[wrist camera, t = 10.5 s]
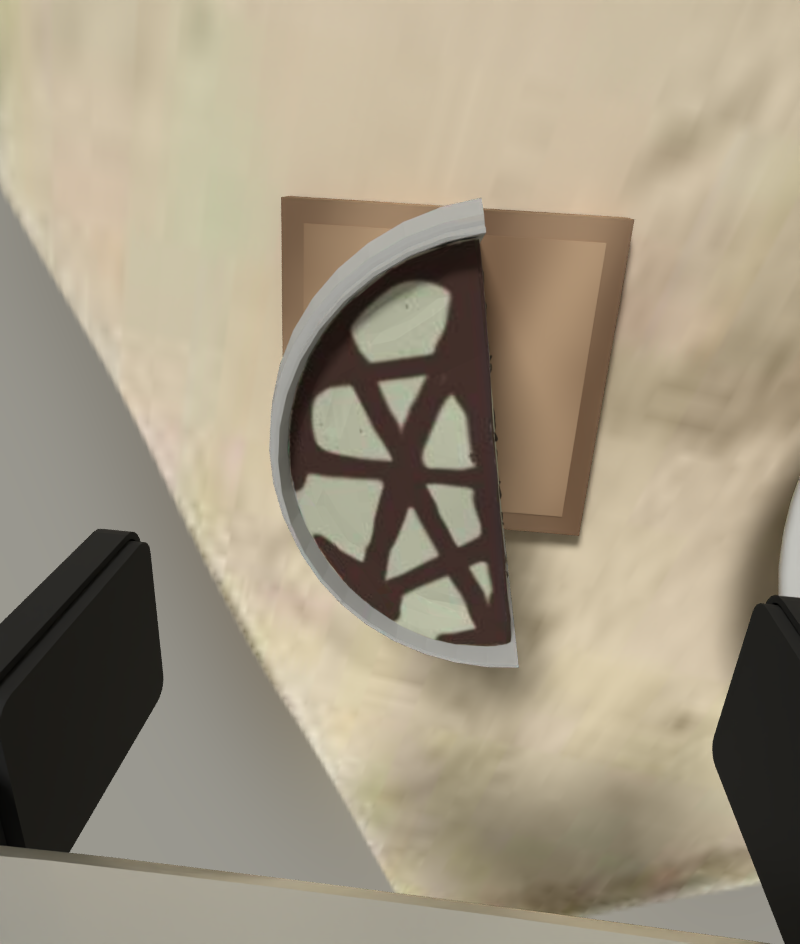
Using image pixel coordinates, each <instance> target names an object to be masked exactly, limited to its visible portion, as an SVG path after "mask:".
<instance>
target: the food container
mask: <svg viewBox="0 0 800 944" xmlns="http://www.w3.org/2000/svg"><path fill="white" fill-rule="evenodd" d="M485 233H486V227H485V221H484V211H483V205H482V199H481V198H478V199H473V200H469V201H465V202H460V203H456V204H451V205H447V206H443V207H440V208H437V209H435V210H432V211H430V212H427V213H425V214H422V215H420V216H417V217H415V218H412V219H410V220H407V221H405V222H402V223H401V224H399V225H397V226H396V227H394V228H392V229H391V230H389V231H387V232H386V233H384V234H382V235H381V236H379V237H377V238H376V239H374V240H372V241H371V242H369V243H368V244H366V245H365V246H364V247H363V248H362V249H360V250H359V251H358V252H357V253H356V254H355V255H353V256H352V257H351V258H350V259H349V260H347V261H346V262H345V263H344V264H343V265H342V266H340V267H339V268H338V269H337V270H336V271H335V272H334V274H333V275H332V276H331V277H330V278H329V280H328V281H327V282H326V283H325V284H324V285H323V287H322V288H321V289H320V290H319V291H318V292H317V294H316V295H315V296H314V297H313V298H312V300H311V302H310V303H309V305H308V307H307V308H306V310H305V312H304V313H303V315H302V317H301V318H300V320H299V322H298V323H297V325H296V327H295V328H294V330H293V332H292V335H291V338H290V340H289V343H288V345H287V348H286V350H285V353H284V355H283V358H282V360H281V363H280V367H279V372H278V376H277V381H276V386H275V391H274V395H273V402H272V411H271V426H270V449H269V451H270V459H271V467H272V476H273V484H274V487H275V491H276V494H277V498H278V501H279V504H280V508H281V511H282V515H283V517H284V519H285V521H286V524H287V526H288V528H289V530H290V532H291V534H292V536H293V538H294V540H295V543H296V545H297V546H298V548H299V550H300V552H301V554H302V556H303V557H304V559H305V560H306V562H307V563H308V565H309V566H310V567H311V569H312V570H313V572H314V573H315V575H316V576H317V578H318V579H319V581H320V582H321V583H322V584H323V585H324V586H325V587H326V588H327V589H328V590H329V592H330V593H331V594H332V595H333V596H334V597H335V598H336V599H337V600H338V601H339V602H340V603H341V604H342V605H343V606H344V607H345V608H347V609H348V610H349V611H350V612H352V613H353V614H354V615H355V616H356V617H358V618H359V619H360V620H361V621H363V622H364V623H365V624H366V625H368V626H370V627H371V628H373V629H375V630H376V631H378V632H380V633H382V634H383V635H385V636H387V637H388V638H390V639H392V640H393V641H395V642H398V643H400V644H402V645H405V646H407V647H409V648H412V649H414V650H416V651H419V652H421V653H423V654H427V655H430V656H434V657H438V658H441V659H445V660H448V661H452V662H456V663H463V664H470V665H477V666H484V667H510V668H519V665H518V656H517V647H516V637H515V628H514V619H513V610H512V601H511V592H510V582H509V573H508V564H507V555H506V546H505V537H504V528H503V525H504V523H503V512H502V509H501V500H500V499H501V496H502V494H501V489H500V486H499V485H500V483H501V481H499V480H500V479H499V476H498V465H497V462H498V459H497V456H498V451H497V449H496V441H498V437H497V435H496V433H495V429H496V423H495V411H494V408H493V399H492V387H491V375H490V373H491V371H492V364H491V363H490V360H491V358H492V355H489V353H490V348H489V341H488V332H487V320H486V317H487V312H486V309H487V304H486V302H485V293H484V272H483V268H482V259H481V251H480V242H481V240H482V239H483V237H484V235H485Z"/></svg>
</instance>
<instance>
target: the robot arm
mask: <svg viewBox="0 0 800 944" xmlns="http://www.w3.org/2000/svg"><path fill="white" fill-rule="evenodd" d="M152 573H153V572H152V563H151V553H150V548H149V546H148V544H147V543H145V542H140V539H139V537H138V535H137V534H136V533H135V532H128V531H118V530H108V529H97V530H96V531H94V532H93V533H92V534H91V535H90V536H89V537H88V538H87V539H86V540H85V541H84V542H83V543H82V544H81V545H80V546H79V547H78V548H77V549H76V550H75V551H74V552H73V553H72V554H71V555H70V556H69V557H68V558H67V559H66V560H65V561H64V562H63V563H62V564H61V565H59V566H58V568H56V570H54V572H52V573H51V574H50V575H49V576H48V577H47V578H46V579H45V580H44V581H43V582H42V583H41V584H40V585H39V586H38V587H37V588H36V589H35V590H34V591H33V592H32V593H31V594H30V595H29V596H28V597H27V598H26V599H25V600H24V601H23V602H22V603H21V604H20V605H19V606H18V607H17V608H16V609H15V610H14V611H13V612H12V613H11V614H10V615H9V616H8V617H7V618H6V619H5V620H4V621H3V622H2V623H1V624H0V944H769V943H763V942H756V941H750V940H743V939H735V938H728V937H721V936H713V935H706V934H698V933H691V932H684V931H676V930H669V929H662V928H654V927H647V926H640V925H633V924H625V923H618V922H610V921H603V920H596V919H589V918H581V917H574V916H566V915H559V914H552V913H544V912H537V911H529V910H522V909H514V908H506V907H499V906H491V905H484V904H476V903H468V902H461V901H453V900H445V899H438V898H430V897H423V896H415V895H407V894H399V893H392V892H384V891H376V890H368V889H361V888H352V887H345V886H337V885H329V884H322V883H314V882H307V881H299V880H291V879H283V878H274V877H266V876H258V875H250V874H242V873H234V872H225V871H218V870H210V869H201V868H194V867H186V866H178V865H170V864H162V863H153V862H146V861H137V860H129V859H121V858H113V857H104V856H94V855H85V854H76V853H69V852H70V850H71V848H72V847H73V845H74V844H75V842H76V840H77V838H78V837H79V835H80V833H81V832H82V830H83V828H84V826H85V825H86V823H87V821H88V820H89V818H90V816H91V814H92V813H93V811H94V809H95V808H96V806H97V804H98V803H99V801H100V799H101V797H102V796H103V794H104V792H105V790H106V789H107V787H108V785H109V784H110V782H111V780H112V778H113V777H114V775H115V773H116V772H117V770H118V768H119V767H120V765H121V763H122V761H123V760H124V758H125V756H126V755H127V753H128V751H129V749H130V748H131V746H132V744H133V743H134V741H135V739H136V737H137V735H138V734H139V732H140V731H141V729H142V727H143V726H144V724H145V722H146V720H147V719H148V717H149V715H150V714H151V712H152V710H153V708H154V707H155V705H156V703H157V701H158V699H159V697H160V694H161V691H162V687H163V669H162V659H161V649H160V640H159V630H158V621H157V611H156V602H155V592H154V583H153V574H152ZM712 751H713V760H714V763H715V767H716V769H717V772H718V774H719V777H720V779H721V782H722V784H723V787H724V790H725V792H726V795H727V797H728V800H729V802H730V805H731V808H732V810H733V813H734V815H735V818H736V820H737V823H738V825H739V828H740V831H741V833H742V836H743V838H744V841H745V843H746V846H747V848H748V851H749V854H750V856H751V859H752V861H753V864H754V866H755V869H756V871H757V874H758V877H759V879H760V882H761V884H762V887H763V889H764V892H765V894H766V897H767V900H768V902H769V905H770V907H771V910H772V912H773V915H774V917H775V920H776V922H777V925H778V928H779V930H780V933H781V935H782V938H783V941H784V943H785V944H800V598H799V597H789V596H778V595H774V596H771V597H770V598H769V599H768V600H767V602H766V604H762V603H760V604H757V605H756V607H755V608H754V610H753V613H752V616H751V619H750V622H749V626H748V629H747V632H746V635H745V638H744V642H743V645H742V648H741V651H740V654H739V658H738V661H737V664H736V667H735V671H734V674H733V677H732V680H731V683H730V687H729V690H728V693H727V696H726V699H725V703H724V706H723V709H722V712H721V716H720V719H719V722H718V725H717V728H716V732H715V735H714V739H713V746H712Z"/></svg>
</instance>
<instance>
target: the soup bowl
mask: <svg viewBox="0 0 800 944" xmlns="http://www.w3.org/2000/svg"><path fill="white" fill-rule="evenodd" d="M778 596H789V597H799V598H800V477H799V479H798V482H797V485H796V488H795V491H794V493H793V496H792V499H791V502H790V506H789V510H788V515H787V519H786V523H785V527H784V531H783V536H782V544H781V552H780V560H779V582H778Z"/></svg>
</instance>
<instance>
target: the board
mask: <svg viewBox="0 0 800 944" xmlns="http://www.w3.org/2000/svg"><path fill="white" fill-rule="evenodd" d="M440 207H443V206H437V205H421V204H405V203H390V202H374V201H358V200H343V199H327V198H311V197H296V196H286V197H281V221H282V336H283V355H284V353H285V350H286V348H287V345H288V343H289V340H290V338H291V335H292V332H293V330H294V328H295V327H296V325H297V323H298V322H299V320H300V318H301V317H302V315H303V313H304V312H305V310H306V308H307V307H308V305H309V303H310V302H311V300H312V298H313V297H314V296H315V295H316V294H317V292H318V291H319V290H320V289H321V288H322V287H323V285H324V284H325V283H326V282H327V281H328V280H329V278H330V277H331V276H332V275H333V274H334V272H335V271H336V270H337V269H338V268H339V267H340V266H342V265H343V264H344V263H345V262H346V261H347V260H349V259H350V258H351V257H352V256H353V255H355V254H356V253H357V252H358V251H359V250H360V249H362V248H363V247H364V246H365V245H366V244H368V243H369V242H371V241H372V240H374V239H376V238H377V237H379V236H381V235H382V234H384V233H386V232H387V231H389V230H391V229H392V228H394V227H396V226H397V225H399V224H401V223H402V222H405V221H407V220H410V219H412V218H415V217H417V216H420V215H422V214H425V213H427V212H430V211H432V210H435V209H437V208H440ZM483 211H484V221H485V227H486V233H485V235H484V237H483V239H482V240H481V242H480V251H481V259H482V268H483V272H484V293H485V302H486V304H487V309H486V312H487V317H486V320H487V332H488V341H489V348H490V353H489V355H492V358H491V360H490V363H491V364H492V371H491V373H490V375H491V387H492V399H493V408H494V411H495V423H496V429H495V433H496V435H497V437H498V441H496V449H497V451H498V456H497V459H498V462H497V465H498V476H499V479H500V480H499V481H501V483H500V485H499V486H500V489H501V494H502V496H501V499H500V500H501V509H502V512H503V523H504V525H503V528H504V529H508V530H520V531H531V532H543V533H554V534H566V535H577V536H579V532H580V526H581V521H582V515H583V509H584V504H585V498H586V492H587V486H588V481H589V475H590V469H591V464H592V458H593V452H594V447H595V441H596V435H597V429H598V424H599V418H600V412H601V407H602V401H603V395H604V390H605V384H606V378H607V372H608V367H609V361H610V355H611V350H612V344H613V338H614V333H615V327H616V321H617V315H618V310H619V304H620V298H621V293H622V287H623V281H624V275H625V270H626V264H627V258H628V253H629V247H630V241H631V236H632V230H633V224H634V220H633V219H630V218H625V217H609V216H594V215H578V214H562V213H547V212H531V211H515V210H500V209H484V208H483Z"/></svg>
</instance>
